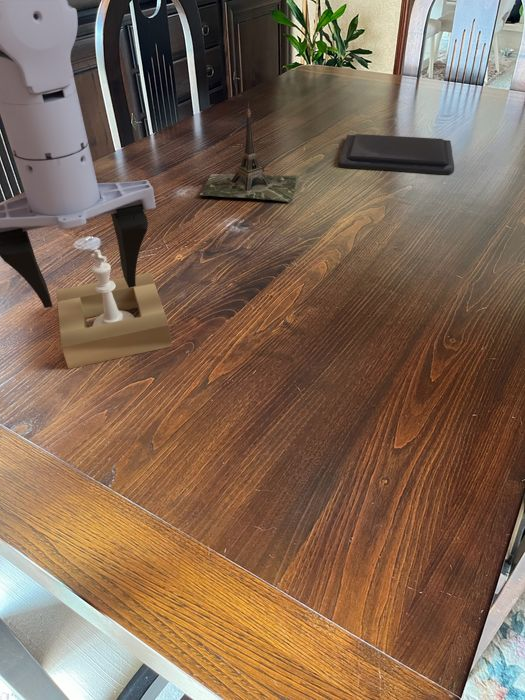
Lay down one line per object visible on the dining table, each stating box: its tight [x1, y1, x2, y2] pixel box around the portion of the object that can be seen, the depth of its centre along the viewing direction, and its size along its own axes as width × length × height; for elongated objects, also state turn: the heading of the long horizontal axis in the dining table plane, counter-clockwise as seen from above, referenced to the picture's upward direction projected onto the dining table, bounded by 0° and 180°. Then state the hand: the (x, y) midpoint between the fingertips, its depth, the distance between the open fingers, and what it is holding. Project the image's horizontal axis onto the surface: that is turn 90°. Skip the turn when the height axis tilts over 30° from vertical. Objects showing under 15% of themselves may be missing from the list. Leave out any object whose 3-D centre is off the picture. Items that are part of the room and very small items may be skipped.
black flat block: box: [337, 133, 455, 176], centre depth 101 cm, size 20×2×15 cm
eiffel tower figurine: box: [199, 102, 298, 203], centre depth 87 cm, size 15×10×13 cm
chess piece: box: [89, 248, 136, 326], centre depth 60 cm, size 5×5×10 cm
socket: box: [55, 271, 173, 370], centre depth 62 cm, size 11×11×3 cm
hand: (89, 291), depth 52 cm, fingers open, 7 cm apart
